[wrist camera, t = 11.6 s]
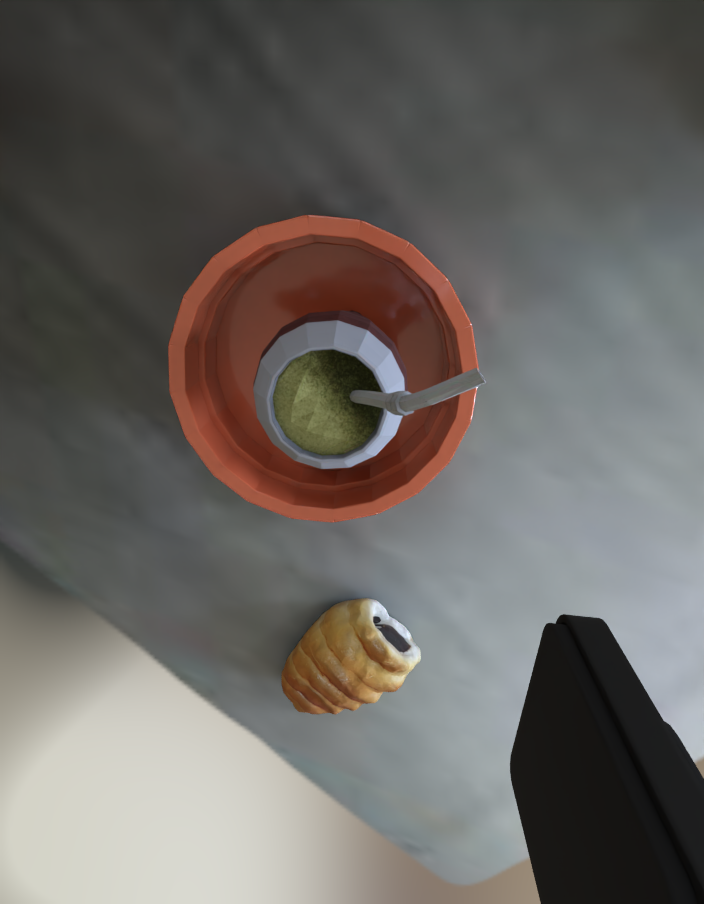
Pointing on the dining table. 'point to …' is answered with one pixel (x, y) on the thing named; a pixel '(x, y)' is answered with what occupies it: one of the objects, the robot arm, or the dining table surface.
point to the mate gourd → (338, 389)
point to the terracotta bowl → (285, 300)
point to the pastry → (348, 659)
